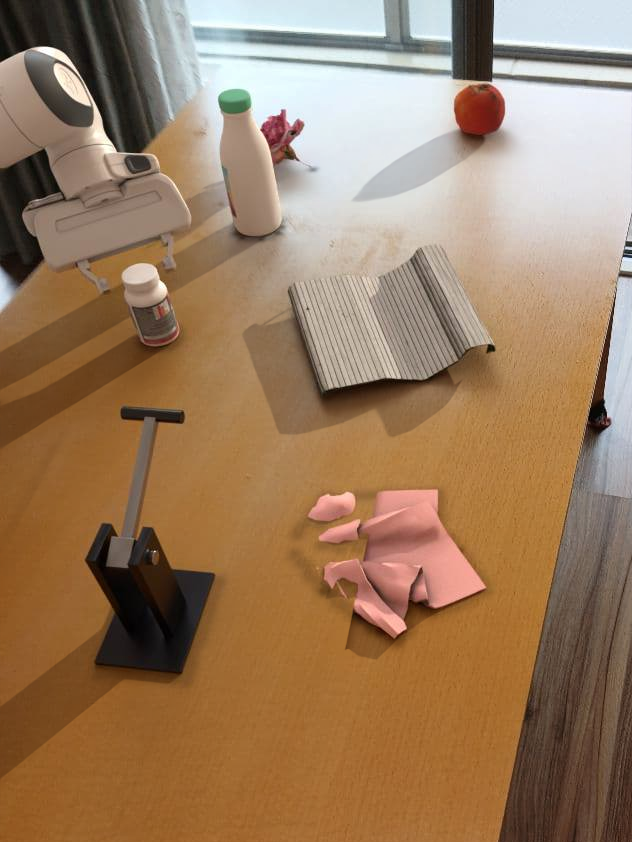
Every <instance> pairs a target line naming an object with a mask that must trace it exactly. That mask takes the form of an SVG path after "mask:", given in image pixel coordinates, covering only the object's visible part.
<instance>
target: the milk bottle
mask: <svg viewBox="0 0 632 842" xmlns="http://www.w3.org/2000/svg"><path fill="white" fill-rule="evenodd" d="M217 103H218V106H219V109H220V114H221V116H222V117H223V122H222V123H223V125H222V130H221V131H222V132H221V137H220V140H219V160H220V166H221V171H222V175H223V180H224V185H225V191H226V195H227V199H228V204H229V209H230V213H231V217H232V221H233V226H234V227H235V229H236V230H237V232H239V233H240V234H242V235H245V236H247V237H248V236H250V237H262V236H266V235H270V234H271V233H273V232H274V231H276V230H278V229H279V228H280V226H281V224H282V220H283V216H282V210H281V204H280V198H279V192H278V185H277V180H276V176H275V169H274V167H273V163H272V158H271V153H270V149H269V146H268V143H267V141H266V139H265V137H264V135H263V134H262V132H261V131H260V129H261V128H259V125H258V124H257V123H256V120H255V118H254V115H253V113H252V111H253V105H252V103H253V102H252V97H251V94H250V92H249V91H248V90H246V89H243V88H230V89H226V90H224V91H221V93H219V95H218V96H217Z"/></svg>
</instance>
